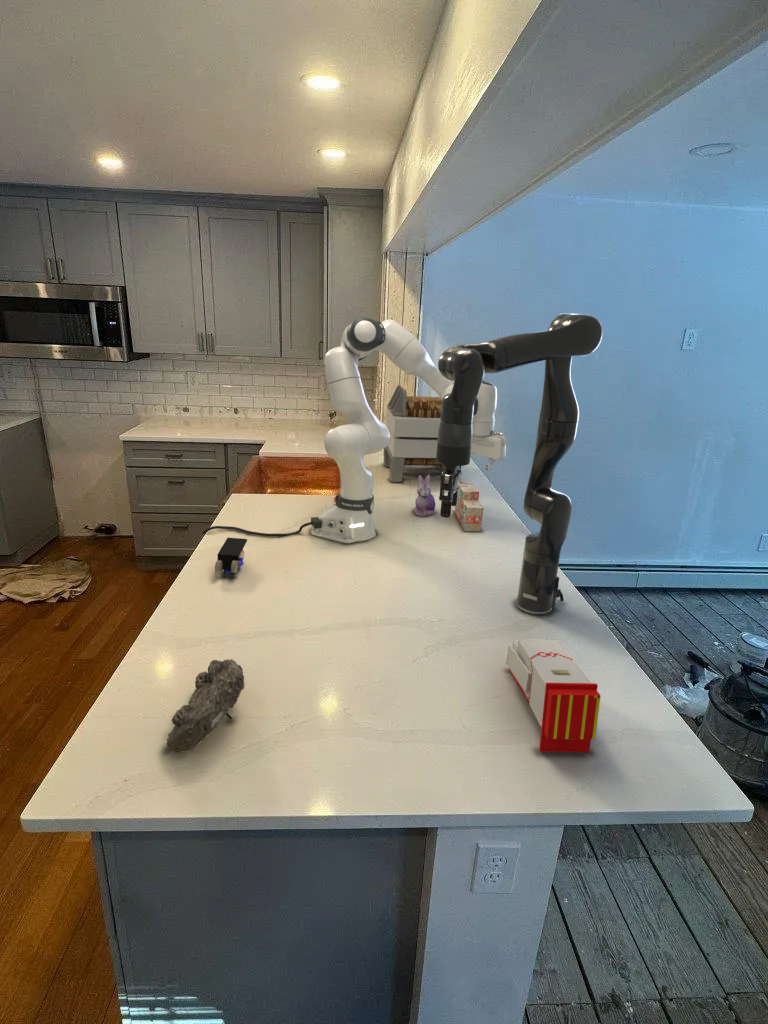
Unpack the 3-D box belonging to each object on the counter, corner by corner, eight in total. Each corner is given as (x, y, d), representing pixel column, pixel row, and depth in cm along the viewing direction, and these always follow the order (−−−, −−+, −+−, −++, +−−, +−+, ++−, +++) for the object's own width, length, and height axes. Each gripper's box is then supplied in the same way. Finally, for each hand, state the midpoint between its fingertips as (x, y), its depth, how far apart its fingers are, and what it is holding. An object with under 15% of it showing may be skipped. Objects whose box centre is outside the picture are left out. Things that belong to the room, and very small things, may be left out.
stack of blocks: (481, 531, 205) (484, 499, 201) (464, 531, 205) (467, 499, 201) (470, 511, 225) (473, 482, 221) (454, 511, 225) (457, 481, 221)
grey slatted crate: (382, 463, 289) (386, 382, 275) (445, 464, 293) (451, 384, 279) (390, 482, 257) (394, 392, 243) (460, 483, 261) (468, 394, 247)
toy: (554, 622, 128) (610, 691, 98) (548, 677, 130) (601, 759, 101) (501, 621, 127) (541, 690, 98) (496, 676, 130) (534, 758, 101)
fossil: (192, 660, 117) (244, 628, 112) (224, 691, 120) (276, 661, 115) (142, 746, 98) (202, 712, 93) (182, 779, 101) (242, 748, 96)
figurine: (420, 518, 216) (423, 480, 210) (407, 509, 224) (409, 473, 219) (441, 515, 220) (444, 477, 215) (427, 506, 228) (430, 470, 223)
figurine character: (238, 584, 162) (249, 557, 175) (236, 562, 158) (247, 536, 172) (215, 584, 161) (227, 556, 175) (212, 561, 158) (225, 535, 171)
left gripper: (511, 432, 192) (507, 471, 196) (462, 422, 205) (459, 459, 209) (501, 434, 187) (497, 475, 192) (452, 424, 200) (449, 462, 205)
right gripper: (466, 450, 118) (460, 523, 123) (475, 437, 130) (469, 503, 136) (431, 446, 119) (426, 518, 125) (443, 433, 132) (438, 499, 138)
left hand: (477, 467), depth 201 cm, fingers open, 8 cm apart
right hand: (448, 510), depth 130 cm, fingers open, 8 cm apart
